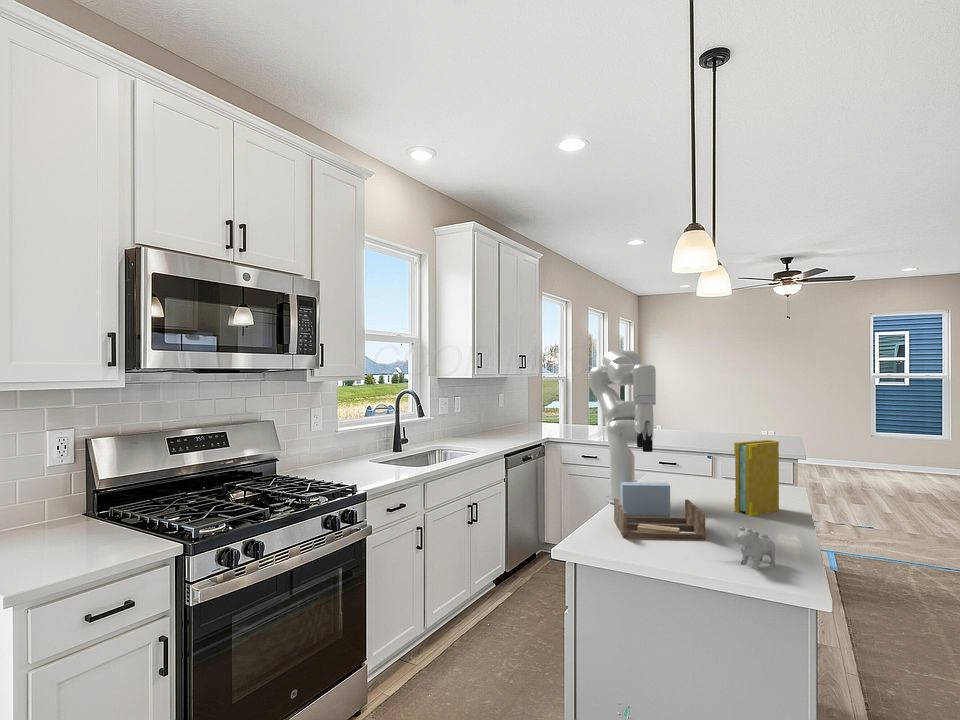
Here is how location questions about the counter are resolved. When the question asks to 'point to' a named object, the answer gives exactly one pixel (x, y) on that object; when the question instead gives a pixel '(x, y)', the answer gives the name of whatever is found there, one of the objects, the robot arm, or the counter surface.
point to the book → (756, 476)
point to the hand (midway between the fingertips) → (644, 449)
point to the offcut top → (657, 529)
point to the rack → (692, 519)
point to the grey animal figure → (755, 546)
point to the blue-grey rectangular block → (645, 499)
